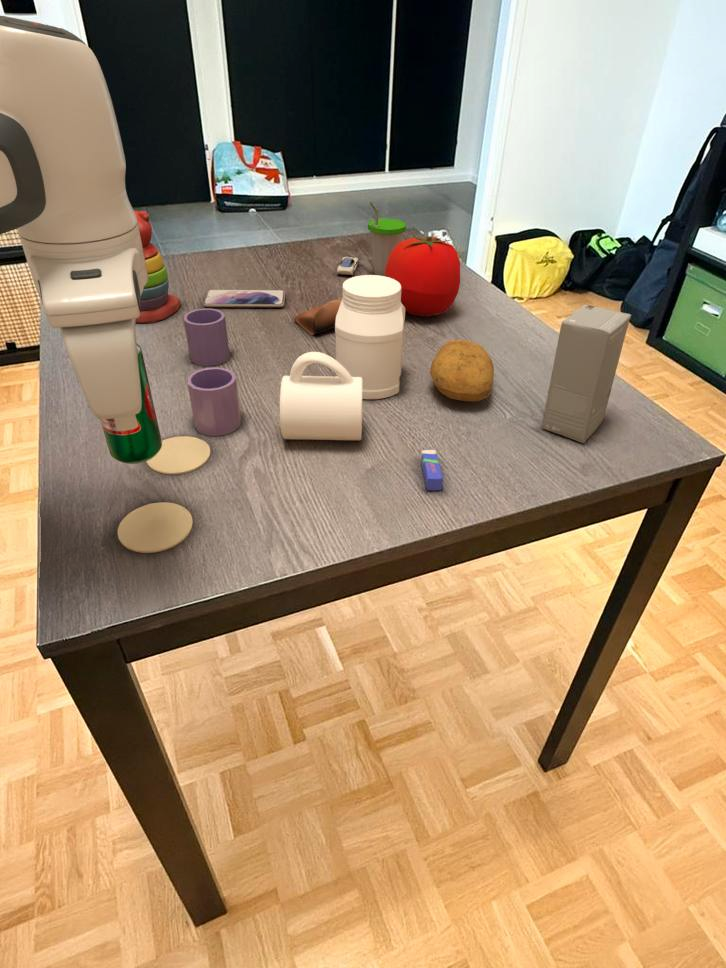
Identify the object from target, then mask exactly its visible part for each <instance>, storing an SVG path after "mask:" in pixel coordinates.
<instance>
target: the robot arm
mask: <svg viewBox="0 0 726 968" xmlns="http://www.w3.org/2000/svg"><path fill="white" fill-rule="evenodd" d="M101 67H102V66H101V65H100V63H99V61H98V58H97V57H96V55H95V53H94V52H93V50H92V49H91V48H90V47H89V46H88V45H87V44H86V42H85V41H84V40H82V39H81V38H79V37H78V36H77V35H75V34H74V33H73V32H70V31H69V30H67V29H64V28H62V27H58V26H54V25H49V24H44V23H41V22H35V21H31V20H30V21H29V20H27V19H22V18H16V17H11V16H8V15H7V16H6V15H0V235H3V234H6V233H9V232H12V231H14V230H17V233H18V237H19V240H20V243H21V246H22V249H23V253H24V255H25V259H26V262H27V265H28V268H29V271H30V275H31V278H32V281H33V285H34V287H35V290H36V291H35V292H37V294H38V295H39V297H40V299H41V304H42V308H43V311H44V313H45V317H46V321H47V323H48V325H49V327H50V328H52V329H59V332H60V334H61V338H62V341H63V344H64V347H65V351H66V353H67V355H68V357H69V360H70V363H71V366H72V368H73V370H74V374H75V376H76V379H77V381H78V384H79V386H80V388H81V391H82V393H83V396H84V398H85V401H86V403H87V406H88V408H89V409H90V411H91V412H92V413H93V416H95V418H97V419H98V420H100V419H111V418H114V420H115V423H116V427H117V429H118V430H120V431H125V430H131V429H135V428H136V427H137V419H136V414H138V413H139V412H140V411H141V407H142V398H141V385H140V375H139V365H138V355H137V345H136V343H137V333H136V323H135V319H136V318H138V317H139V316H140V311H139V309H140V298H141V294H142V292H143V288H144V286H145V285H146V284H147V282H148V273H147V268H146V263H145V258H144V253H143V247H142V242H141V237H140V232H139V228H138V222H137V218H136V215H135V212H134V211H135V210H134V209H133V206H132V204H131V202H130V200H129V197H128V193H127V189H126V169H127V165H126V156H125V153H124V151H125V150H124V148H123V147H124V146H123V142H122V137H121V133H120V129H119V125H118V121H117V115H116V113H115V109H114V104H113V100H112V98H111V97H112V96H111V94H110V91H109V87H108V84H107V81H106V78H105V76H104V73H103V70H102V68H101Z"/></svg>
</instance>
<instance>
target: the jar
mask: <svg viewBox="0 0 726 968" xmlns="http://www.w3.org/2000/svg"><path fill="white" fill-rule="evenodd" d="M341 294H342V296H341V297H342V301H341V304H340V307H339V310H338V313H337V315H336V321H335V327H334V333H335V360H336V361H338V362H339V363H340V364H341V365H342V366H343V367H344V368H345V369H346V370H347V371H348V372H349V374H350V375H351V377H361V378H362V379H363V392H362V400H380V399H381V400H382V399H386V398H390V397H393V396H395V395H396V394H397V395H398V394H399V393H400V385H401V384H400V377H401V375H402V367H403V366H402V360H403V359H402V358H403V343H404V329H405V319H406V311H405V307H404V306H403V305H402V303H401V285H400V283H399V282H398V281H396V280H394V279H392V278H389V277H385V276H379V275H374V274H362V275H356V276H352V277H349V278H347V279H346V280H345V281H343V283H342V293H341ZM335 377H338V375H337V374H336V373H335Z"/></svg>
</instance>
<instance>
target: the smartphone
mask: <svg viewBox="0 0 726 968" xmlns="http://www.w3.org/2000/svg"><path fill="white" fill-rule="evenodd" d="M285 302H286V290H283V289H209V290H207V292H206V294H205V298H204V300H203V307H204V308H262V309H263V308H265V309H266V308H267V309H268V308H273V309H274V308H283V307H284V306H285Z"/></svg>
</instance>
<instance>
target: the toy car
mask: <svg viewBox="0 0 726 968" xmlns="http://www.w3.org/2000/svg"><path fill="white" fill-rule="evenodd" d="M358 259H359V258H358V257H357V256H355V257H354V256H343V257H342V258H341V261H340V264H339V265H338V266H337V268H336V275H344V276H352V277H355V276H354V275H355V271H356V270H357V268H358V266H359V262H360V260H359V261H358ZM357 261H358V263H357V264H356V262H357ZM355 264H356V265H355ZM354 266H355V267H354Z"/></svg>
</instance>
